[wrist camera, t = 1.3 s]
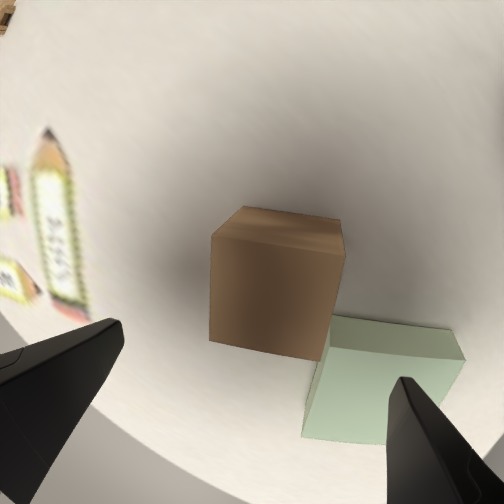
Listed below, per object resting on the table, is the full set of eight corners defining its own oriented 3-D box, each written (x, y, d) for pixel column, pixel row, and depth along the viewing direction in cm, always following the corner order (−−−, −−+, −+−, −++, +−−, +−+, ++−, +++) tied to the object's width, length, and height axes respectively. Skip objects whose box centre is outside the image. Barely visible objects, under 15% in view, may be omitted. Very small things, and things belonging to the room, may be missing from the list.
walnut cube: (339, 219, 16) (345, 255, 11) (323, 304, 18) (320, 361, 13) (243, 205, 16) (211, 234, 12) (237, 290, 18) (209, 340, 14)
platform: (451, 330, 16) (465, 360, 13) (407, 415, 19) (411, 445, 16) (330, 314, 17) (329, 346, 15) (305, 405, 21) (300, 437, 18)
